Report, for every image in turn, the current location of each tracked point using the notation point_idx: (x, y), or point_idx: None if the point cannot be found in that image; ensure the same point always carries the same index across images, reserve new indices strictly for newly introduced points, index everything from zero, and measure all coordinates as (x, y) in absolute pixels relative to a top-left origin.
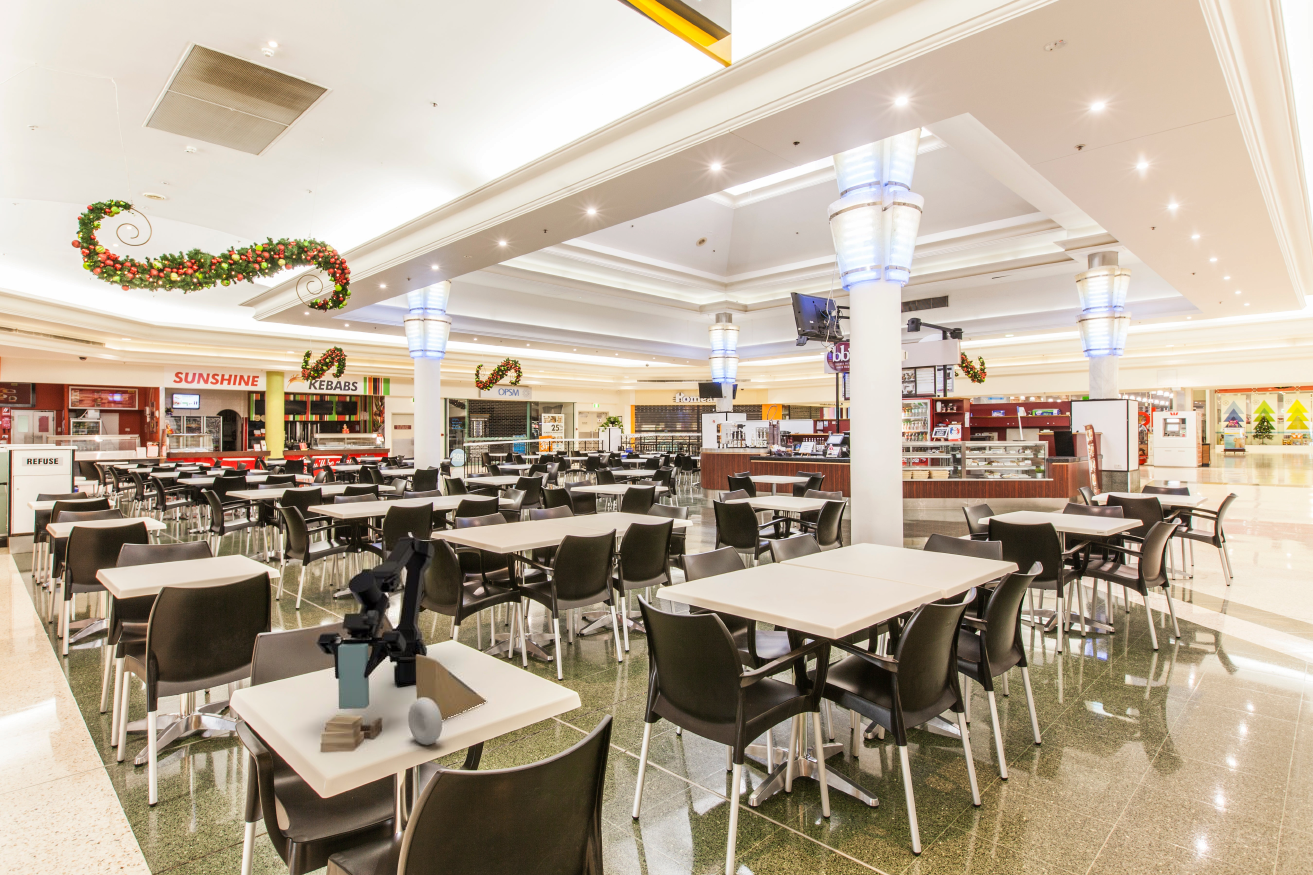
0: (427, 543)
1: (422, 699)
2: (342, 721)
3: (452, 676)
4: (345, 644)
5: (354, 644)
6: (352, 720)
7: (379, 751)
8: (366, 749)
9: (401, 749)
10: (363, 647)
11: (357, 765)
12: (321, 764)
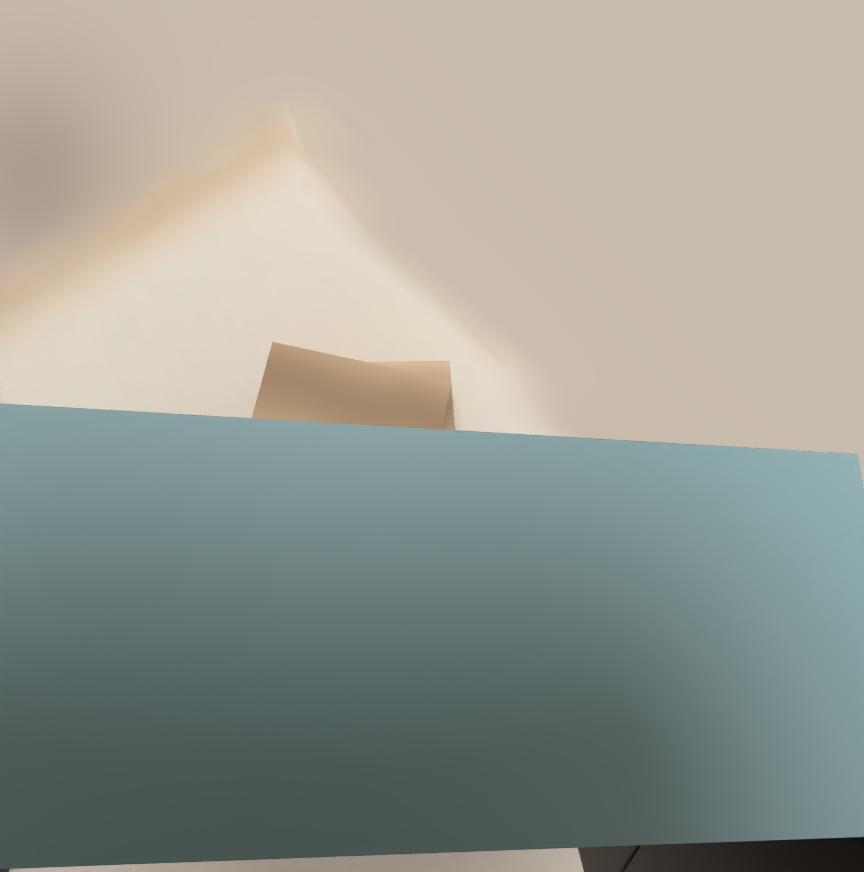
0: None
1: None
2: (349, 387)
3: None
4: (717, 759)
5: (249, 731)
6: (286, 394)
7: (138, 362)
8: (216, 393)
9: (20, 369)
10: None
11: (206, 242)
12: (379, 275)
